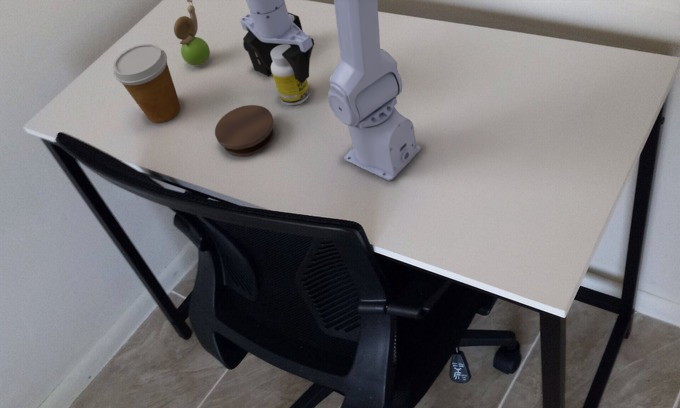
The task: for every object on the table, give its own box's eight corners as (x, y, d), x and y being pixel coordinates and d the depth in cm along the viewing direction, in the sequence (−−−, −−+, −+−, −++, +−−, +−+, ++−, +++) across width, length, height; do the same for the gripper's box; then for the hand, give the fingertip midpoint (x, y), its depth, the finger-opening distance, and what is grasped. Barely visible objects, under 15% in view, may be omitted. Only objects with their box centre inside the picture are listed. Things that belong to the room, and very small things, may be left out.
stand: (289, 129, 114) (284, 116, 112) (248, 167, 110) (242, 154, 108) (249, 111, 119) (244, 98, 117) (208, 146, 115) (202, 133, 113)
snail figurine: (221, 53, 133) (200, 0, 124) (201, 73, 130) (178, 20, 121) (201, 49, 135) (179, -4, 127) (181, 68, 132) (157, 16, 124)
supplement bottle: (306, 106, 117) (293, 60, 110) (277, 106, 119) (261, 61, 111) (313, 85, 120) (300, 40, 113) (285, 86, 122) (270, 42, 115)
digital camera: (288, 38, 132) (279, 7, 127) (307, 46, 129) (299, 15, 124) (250, 68, 128) (238, 37, 123) (268, 77, 125) (258, 46, 120)
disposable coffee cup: (199, 105, 123) (174, 51, 115) (159, 136, 120) (130, 83, 111) (168, 88, 129) (143, 36, 120) (129, 118, 125) (100, 66, 116)
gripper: (316, 0, 103) (334, 71, 113) (252, -20, 111) (274, 48, 121) (286, 25, 101) (306, 95, 111) (222, 3, 108) (247, 70, 118)
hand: (288, 72), depth 116 cm, fingers open, 7 cm apart
